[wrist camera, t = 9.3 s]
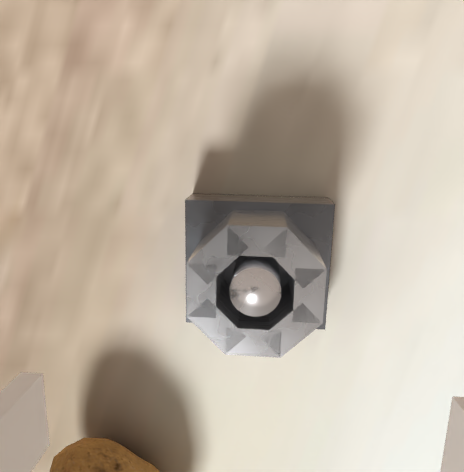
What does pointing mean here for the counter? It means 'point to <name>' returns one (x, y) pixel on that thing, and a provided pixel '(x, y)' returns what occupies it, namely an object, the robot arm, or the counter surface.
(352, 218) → the counter surface
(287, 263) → the hub
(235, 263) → the pillow block
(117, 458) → the potato
